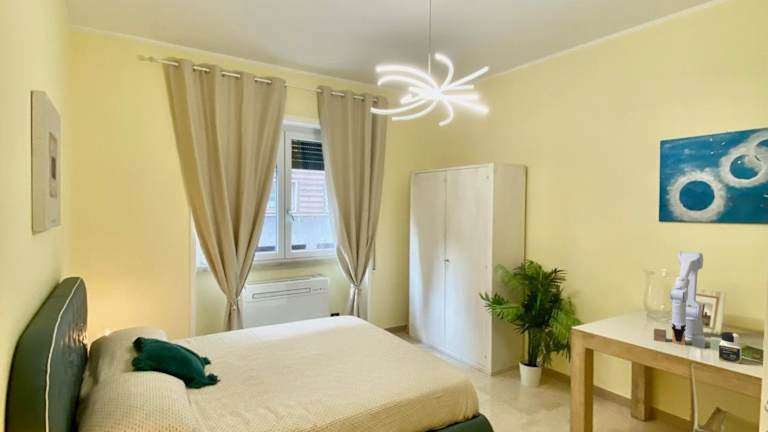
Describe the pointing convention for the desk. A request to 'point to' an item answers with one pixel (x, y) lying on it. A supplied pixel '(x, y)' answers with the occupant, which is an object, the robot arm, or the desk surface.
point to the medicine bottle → (730, 348)
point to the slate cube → (698, 341)
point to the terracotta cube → (677, 341)
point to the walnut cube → (660, 335)
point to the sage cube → (715, 343)
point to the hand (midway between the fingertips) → (678, 339)
